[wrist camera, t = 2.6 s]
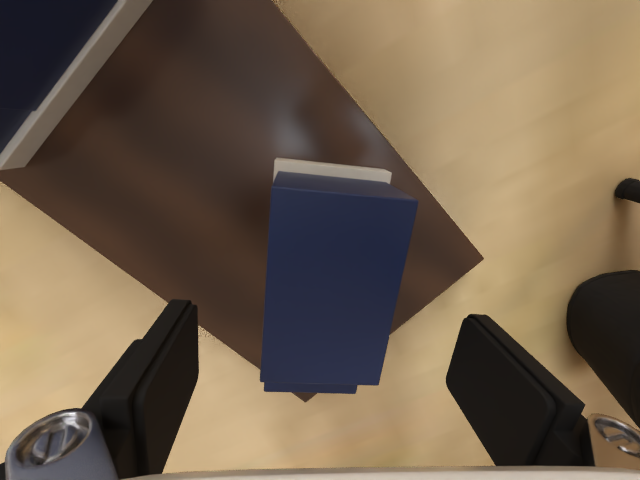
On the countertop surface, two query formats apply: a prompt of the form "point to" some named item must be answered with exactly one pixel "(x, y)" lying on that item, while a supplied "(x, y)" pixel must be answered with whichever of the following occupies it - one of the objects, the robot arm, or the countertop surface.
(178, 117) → the dark brown flat board
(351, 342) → the blue pale-edged block
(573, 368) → the countertop surface
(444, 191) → the countertop surface
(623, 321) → the high-heeled shoe
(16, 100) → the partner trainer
